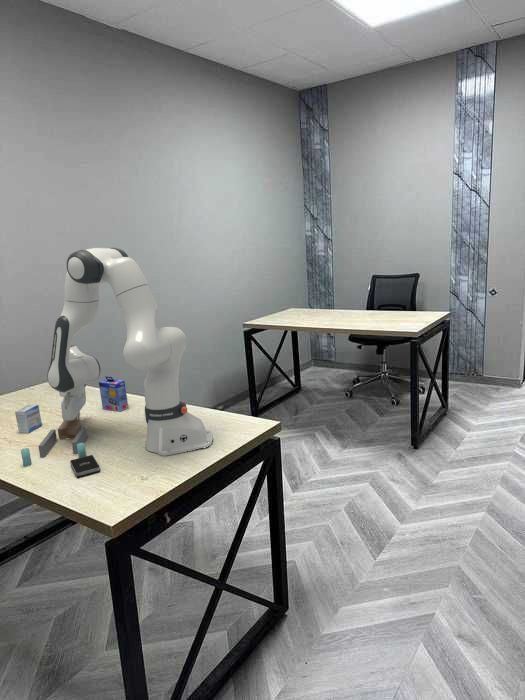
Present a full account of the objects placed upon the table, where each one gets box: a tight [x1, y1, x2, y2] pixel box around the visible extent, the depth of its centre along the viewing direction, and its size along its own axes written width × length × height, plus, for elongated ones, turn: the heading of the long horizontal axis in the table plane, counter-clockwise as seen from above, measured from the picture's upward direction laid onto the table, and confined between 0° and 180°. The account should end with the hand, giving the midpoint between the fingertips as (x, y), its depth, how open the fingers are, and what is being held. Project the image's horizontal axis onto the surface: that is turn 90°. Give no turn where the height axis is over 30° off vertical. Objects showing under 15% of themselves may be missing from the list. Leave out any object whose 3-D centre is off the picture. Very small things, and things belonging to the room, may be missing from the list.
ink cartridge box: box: [98, 375, 129, 413], centre depth 199 cm, size 10×6×14 cm, turn 64°
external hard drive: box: [69, 454, 101, 479], centre depth 148 cm, size 7×11×2 cm, turn 31°
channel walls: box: [37, 426, 88, 458], centre depth 164 cm, size 12×14×4 cm
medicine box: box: [14, 404, 43, 434], centre depth 182 cm, size 8×4×9 cm, turn 168°
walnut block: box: [57, 419, 82, 440], centre depth 175 cm, size 6×8×4 cm
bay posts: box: [20, 442, 87, 467], centre depth 153 cm, size 19×2×5 cm, turn 98°
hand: (76, 423), depth 181 cm, fingers closed
